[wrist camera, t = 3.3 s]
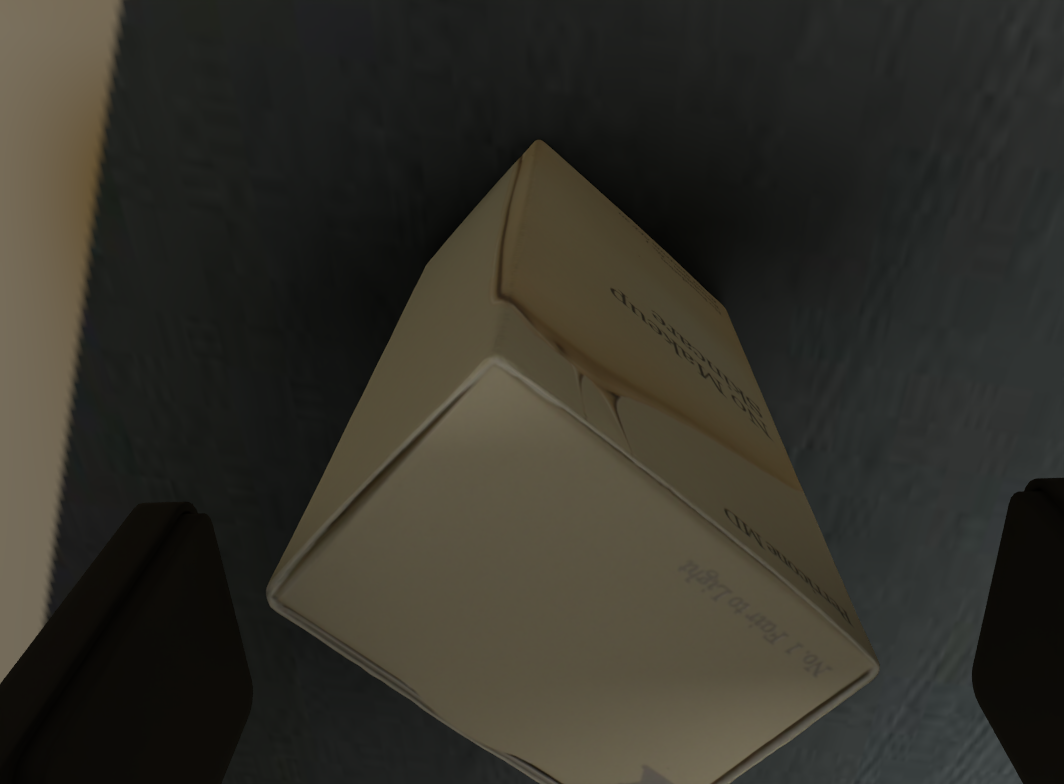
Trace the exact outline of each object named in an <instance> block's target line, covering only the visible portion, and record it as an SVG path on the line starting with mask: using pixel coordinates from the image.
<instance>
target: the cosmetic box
mask: <svg viewBox="0 0 1064 784" xmlns="http://www.w3.org/2000/svg"><path fill="white" fill-rule="evenodd" d="M266 598H267V600H268V603H269V605H270V607H271V608H272V609H274V610H275V611H276V612H277V613H279V614H280V615H282V616H283V617H285V618H287V619H288V620H290V621H292V622H293V623H295V624H296V625H298V626H300V627H301V628H303V629H304V630H306V631H307V632H309V633H311V634H312V635H314V636H315V637H317V638H318V639H319V640H321V641H322V642H324V643H325V644H326V645H328V646H329V647H331V648H332V649H334V650H335V651H337V652H338V653H340V654H341V655H342V656H344V657H345V658H347V659H349V660H350V661H352V662H354V663H355V664H357V665H359V666H360V667H362V668H363V669H364V670H365V671H367V672H368V673H369V674H371V675H372V676H374V677H376V678H378V679H379V680H381V681H383V682H384V683H385V684H387V685H388V686H390V687H391V688H392V689H394V690H396V691H397V692H399V693H400V694H402V695H404V696H405V697H407V698H408V699H410V700H411V701H413V702H414V703H415V704H417V705H418V706H419V707H420V708H422V709H423V710H425V711H426V712H427V713H429V714H430V715H432V716H433V717H435V718H436V719H438V720H439V721H441V722H442V723H444V724H445V725H447V726H448V727H450V728H451V729H453V730H454V731H456V732H458V733H459V734H461V735H462V736H464V737H466V738H467V739H469V740H470V741H472V742H474V743H475V744H477V745H478V746H480V747H482V748H483V749H485V750H487V751H488V752H490V753H492V754H494V755H495V756H497V757H499V758H501V759H502V760H504V761H506V762H507V763H509V764H510V765H512V766H513V767H515V768H516V769H518V770H520V771H521V772H523V773H524V774H526V775H528V776H529V777H531V778H532V779H533V780H535V781H536V782H538V783H540V784H729V783H731V782H732V781H733V780H735V779H736V778H737V777H738V776H740V775H741V774H743V773H744V772H746V771H747V770H749V769H750V768H751V767H753V766H754V765H756V764H757V763H759V762H760V761H762V760H763V759H764V758H765V757H766V756H768V755H770V754H771V753H773V752H774V751H775V750H777V749H778V748H780V747H781V746H783V745H785V744H786V743H788V742H789V741H791V740H792V739H793V738H795V737H796V736H797V735H799V734H800V733H801V732H803V731H804V730H805V729H807V728H808V727H809V726H810V725H811V724H813V723H814V722H815V721H817V720H818V719H820V718H821V717H822V716H824V715H825V714H827V713H828V712H829V711H831V710H832V709H834V708H835V707H836V706H838V705H839V704H840V703H842V702H843V701H845V700H846V699H847V698H849V697H850V696H851V695H853V694H854V693H855V692H857V691H858V690H859V689H861V688H862V687H863V686H865V685H866V684H868V683H870V682H871V681H872V680H873V679H874V678H875V677H876V676H877V675H878V672H879V669H880V664H879V662H878V659H877V657H876V655H875V652H874V650H873V648H872V646H871V644H870V642H869V640H868V637H867V635H866V633H865V631H864V629H863V627H862V625H861V623H860V620H859V618H858V616H857V614H856V612H855V609H854V607H853V605H852V603H851V600H850V598H849V596H848V593H847V591H846V588H845V586H844V584H843V581H842V579H841V577H840V575H839V572H838V570H837V568H836V566H835V564H834V561H833V559H832V557H831V554H830V552H829V550H828V547H827V545H826V542H825V540H824V538H823V535H822V533H821V531H820V528H819V526H818V524H817V521H816V519H815V517H814V514H813V512H812V510H811V508H810V505H809V503H808V501H807V498H806V496H805V494H804V492H803V489H802V487H801V485H800V483H799V481H798V478H797V476H796V474H795V471H794V469H793V466H792V464H791V462H790V459H789V457H788V454H787V452H786V450H785V447H784V445H783V443H782V440H781V438H780V436H779V433H778V431H777V429H776V426H775V424H774V422H773V419H772V417H771V415H770V412H769V410H768V408H767V405H766V403H765V401H764V398H763V396H762V393H761V391H760V389H759V386H758V384H757V382H756V379H755V377H754V374H753V372H752V370H751V367H750V365H749V362H748V360H747V358H746V355H745V353H744V351H743V348H742V346H741V344H740V342H739V339H738V337H737V334H736V332H735V330H734V327H733V325H732V322H731V320H730V317H729V315H728V313H727V310H726V309H725V307H724V306H723V305H722V304H721V303H720V302H719V301H718V300H717V299H715V298H714V297H713V296H712V295H711V294H710V293H709V292H708V291H707V290H706V289H704V288H703V287H702V286H701V285H700V284H699V283H698V282H697V281H696V280H695V279H694V278H693V277H692V276H691V275H690V274H689V273H688V272H687V271H686V270H685V269H684V268H683V267H682V266H681V265H679V264H678V263H677V262H676V261H675V260H674V259H673V258H672V257H671V256H670V255H669V254H668V253H667V252H666V251H665V250H664V249H662V248H661V247H660V246H659V245H658V244H657V243H656V242H655V241H654V240H653V239H652V238H651V237H649V236H648V235H647V234H646V233H645V232H644V231H643V230H642V229H641V228H640V227H639V226H638V225H637V224H635V223H634V222H633V221H632V220H631V219H630V218H629V217H628V216H627V215H625V214H624V213H623V212H622V211H621V210H620V209H619V208H618V207H616V206H615V205H614V204H613V203H612V202H611V201H610V200H609V199H608V198H606V197H605V196H604V195H603V194H602V193H601V192H600V191H599V190H598V189H596V188H595V187H594V186H593V185H592V184H591V183H590V182H589V181H587V180H586V179H585V178H584V177H583V176H582V175H581V174H580V173H579V172H577V171H576V170H575V169H574V168H573V167H572V166H571V165H570V164H569V163H567V162H566V161H565V160H564V159H563V158H562V157H561V156H560V155H558V154H557V153H556V152H555V151H554V150H553V149H552V148H551V147H549V146H548V145H547V144H546V143H545V142H543V141H542V140H536V141H534V142H533V144H532V145H531V146H530V147H529V148H528V149H527V150H526V152H525V153H524V154H523V155H522V156H521V157H520V158H519V159H518V160H517V161H516V162H515V163H514V164H513V166H512V167H511V168H510V169H509V170H508V171H507V172H506V173H505V174H504V175H503V177H502V178H501V179H500V180H499V181H498V182H497V183H496V184H495V185H494V187H493V188H492V189H491V190H490V191H489V192H488V193H487V195H486V196H485V197H484V198H483V199H482V200H481V201H480V203H479V204H478V205H477V206H476V207H475V208H474V209H473V211H472V212H471V213H470V214H469V215H468V216H467V217H466V219H465V220H464V221H463V222H462V223H461V224H460V225H459V227H458V228H457V229H456V230H455V231H454V232H453V234H452V235H451V236H450V237H449V238H448V239H447V241H446V242H445V243H444V244H443V245H442V247H441V248H440V249H439V250H438V251H437V253H436V254H435V255H434V256H433V257H432V259H431V260H430V261H429V262H428V263H427V265H426V266H425V268H424V271H423V273H422V275H421V277H420V279H419V281H418V283H417V285H416V287H415V288H414V290H413V293H412V295H411V297H410V299H409V301H408V303H407V305H406V307H405V309H404V311H403V313H402V315H401V317H400V319H399V321H398V323H397V325H396V327H395V329H394V332H393V334H392V336H391V338H390V340H389V342H388V344H387V346H386V348H385V350H384V352H383V354H382V356H381V358H380V360H379V362H378V364H377V366H376V368H375V370H374V372H373V374H372V376H371V378H370V380H369V382H368V385H367V387H366V389H365V391H364V393H363V395H362V397H361V399H360V401H359V403H358V405H357V406H356V408H355V410H354V412H353V414H352V416H351V418H350V420H349V422H348V424H347V427H346V429H345V431H344V433H343V435H342V437H341V439H340V441H339V443H338V445H337V447H336V449H335V451H334V453H333V456H332V458H331V460H330V462H329V464H328V466H327V468H326V470H325V472H324V474H323V476H322V478H321V480H320V482H319V484H318V486H317V488H316V490H315V492H314V494H313V496H312V498H311V500H310V502H309V504H308V506H307V508H306V510H305V512H304V514H303V516H302V518H301V520H300V522H299V524H298V526H297V528H296V530H295V532H294V534H293V536H292V538H291V540H290V542H289V544H288V546H287V548H286V550H285V552H284V554H283V556H282V558H281V560H280V562H279V564H278V565H277V567H276V569H275V571H274V573H273V575H272V577H271V579H270V581H269V583H268V586H267V588H266Z"/></svg>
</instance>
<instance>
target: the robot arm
mask: <svg viewBox="0 0 1064 784" xmlns="http://www.w3.org/2000/svg"><path fill="white" fill-rule="evenodd" d="M972 683H973V689H974V693H975V696H976V699H977V701H978V703H979V705H980V707H981V709H982V711H983V712H984V714H985V716H986V718H987V720H988V721H989V723H990V725H991V727H992V728H993V730H994V732H995V734H996V736H997V737H998V739H999V741H1000V743H1001V745H1002V746H1003V748H1004V750H1005V752H1006V754H1007V755H1008V757H1009V759H1010V761H1011V763H1012V764H1013V766H1014V768H1015V770H1016V772H1017V773H1018V775H1019V777H1020V779H1021V780H1022V782H1023V784H1064V478H1042V479H1034V480H1032V481H1030V482H1029V483H1028V485H1027V486H1026V488H1025V491H1024V492H1017V493H1015V494H1014V495H1013V496H1012V497H1011V500H1010V503H1009V506H1008V511H1007V515H1006V520H1005V524H1004V529H1003V533H1002V538H1001V542H1000V547H999V551H998V556H997V560H996V565H995V569H994V574H993V578H992V583H991V587H990V592H989V596H988V601H987V605H986V610H985V614H984V619H983V623H982V628H981V632H980V636H979V641H978V645H977V650H976V654H975V659H974V663H973V669H972ZM252 697H253V686H252V680H251V676H250V672H249V668H248V664H247V660H246V656H245V652H244V648H243V644H242V640H241V636H240V632H239V628H238V624H237V620H236V616H235V612H234V608H233V604H232V600H231V596H230V592H229V588H228V584H227V580H226V576H225V572H224V568H223V564H222V560H221V556H220V552H219V548H218V544H217V540H216V536H215V532H214V528H213V524H212V521H211V519H210V517H209V516H208V515H207V514H205V513H202V514H198V513H197V510H196V508H195V507H194V506H193V504H191V503H189V502H162V503H142V504H138V505H137V506H136V507H135V508H134V509H133V510H132V512H131V513H130V514H129V516H128V517H127V518H126V520H125V521H124V522H123V523H122V525H121V526H120V527H119V529H118V530H117V531H116V533H115V534H114V535H113V537H112V538H111V539H110V541H109V542H108V543H107V544H106V546H105V547H104V548H103V550H102V551H101V552H100V554H99V555H98V556H97V558H96V559H95V560H94V562H93V563H92V564H91V565H90V567H89V568H88V569H87V571H86V572H85V573H84V575H83V576H82V577H81V579H80V580H79V581H78V583H77V584H76V585H75V587H74V588H73V589H72V590H71V592H70V593H69V594H68V596H67V597H66V598H65V600H64V601H63V602H62V604H61V605H60V606H59V608H58V609H57V610H56V611H55V613H54V614H53V615H52V617H51V618H50V619H49V621H48V622H47V623H46V625H45V626H44V627H43V629H42V630H41V631H40V633H39V634H38V635H37V636H36V638H35V639H34V641H33V642H32V643H31V644H30V646H29V647H28V648H27V650H26V651H25V652H24V654H23V655H22V656H21V657H20V659H19V660H18V661H17V663H16V664H15V665H14V667H13V668H12V669H11V671H10V672H9V673H8V675H7V676H6V677H5V678H4V680H3V681H2V682H1V684H0V784H221V783H222V780H223V778H224V775H225V773H226V771H227V768H228V766H229V763H230V761H231V758H232V756H233V753H234V751H235V748H236V746H237V743H238V741H239V738H240V736H241V733H242V731H243V729H244V726H245V724H246V721H247V719H248V716H249V713H250V710H251V705H252Z"/></svg>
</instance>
